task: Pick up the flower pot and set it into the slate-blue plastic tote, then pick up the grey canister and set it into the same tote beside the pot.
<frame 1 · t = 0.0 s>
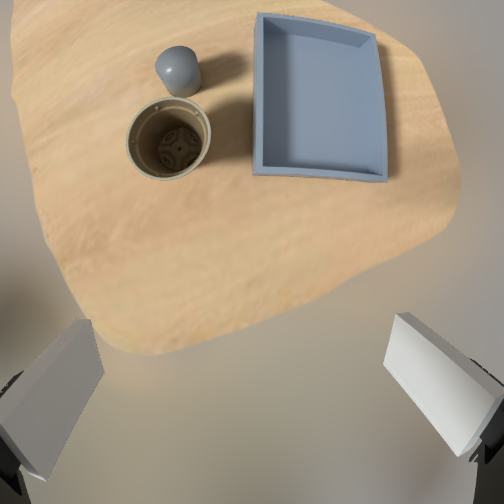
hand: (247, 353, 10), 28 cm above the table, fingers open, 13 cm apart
tote: (314, 99, 34), on the table
canister: (184, 82, 32), on the table
flower pot: (180, 148, 35), on the table
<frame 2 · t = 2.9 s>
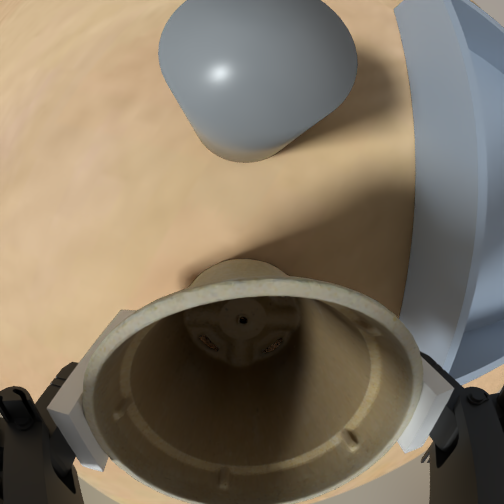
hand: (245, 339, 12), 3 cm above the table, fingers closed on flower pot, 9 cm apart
tote: (494, 188, 14), on the table
canister: (244, 112, 12), on the table
flower pot: (242, 312, 14), on the table, touching gripper
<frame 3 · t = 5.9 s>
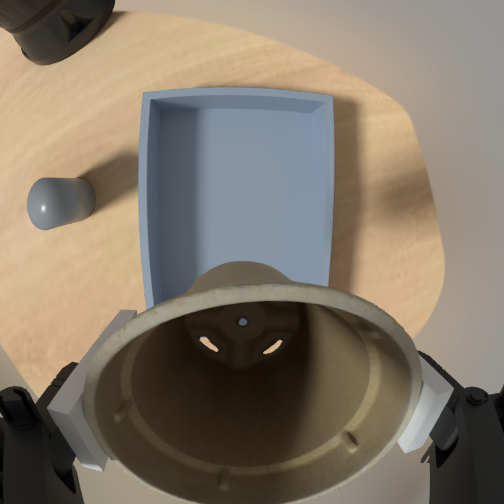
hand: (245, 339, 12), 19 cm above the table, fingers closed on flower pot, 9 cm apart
tote: (235, 211, 29), on the table
canister: (77, 199, 27), on the table
flower pot: (242, 313, 14), point 16 cm above the table, touching gripper
when the fingers open (4 cm above the table, at t = 9.0 s): flower pot stays where it is, resting on tote.
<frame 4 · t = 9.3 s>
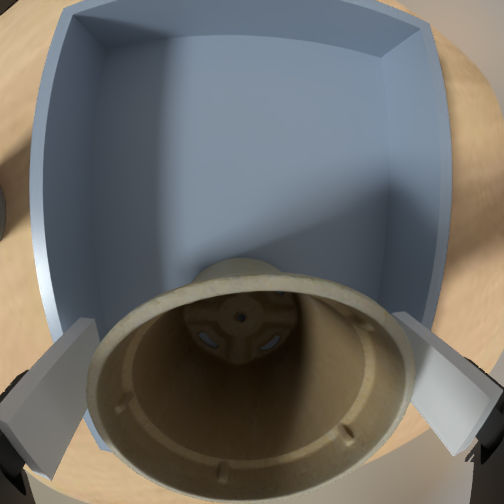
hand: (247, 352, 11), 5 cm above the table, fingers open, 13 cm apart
tote: (242, 234, 14), on the table
flower pot: (241, 310, 15), resting on tote
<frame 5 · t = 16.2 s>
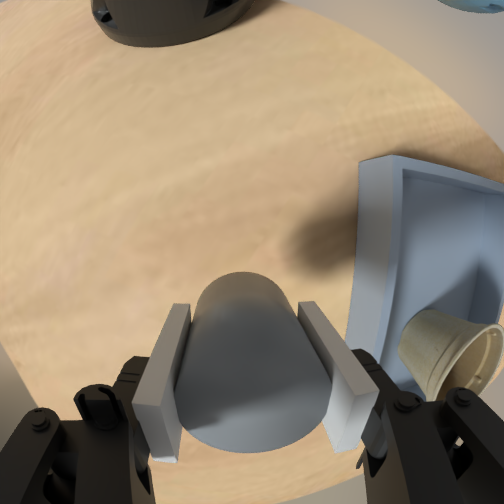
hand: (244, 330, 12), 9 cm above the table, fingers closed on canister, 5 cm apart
tote: (425, 296, 23), on the table
canister: (242, 317, 14), point 7 cm above the table, touching gripper
flower pot: (419, 334, 23), resting on tote
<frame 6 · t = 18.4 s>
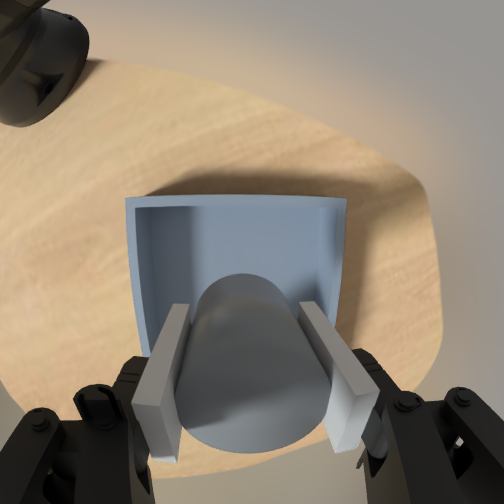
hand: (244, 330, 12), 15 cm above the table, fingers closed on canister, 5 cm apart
tote: (235, 312, 28), on the table
canister: (242, 318, 14), point 13 cm above the table, touching gripper
when the fingers open (2 cm above the table, at t = 20.8 s): canister stays where it is, resting on tote.
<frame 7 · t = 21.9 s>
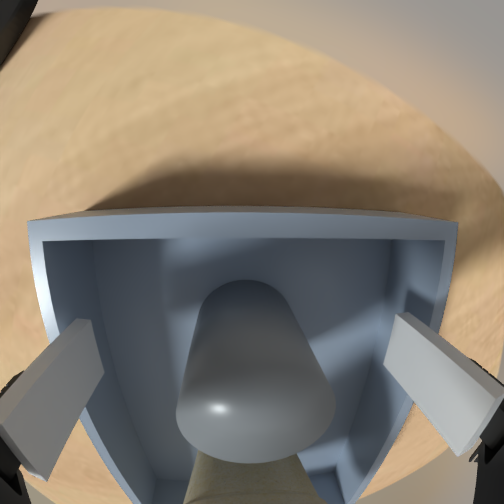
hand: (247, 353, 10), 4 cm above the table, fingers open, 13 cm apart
tote: (244, 397, 16), on the table
canister: (245, 325, 14), point 1 cm above the table, touching tote
flower pot: (244, 438, 16), resting on tote
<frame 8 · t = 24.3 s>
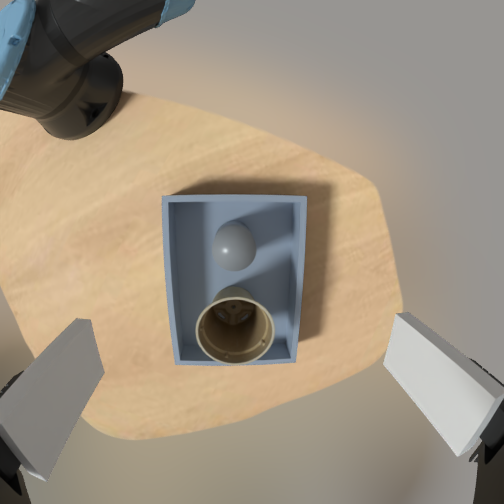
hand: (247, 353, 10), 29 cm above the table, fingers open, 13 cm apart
tote: (233, 277, 40), on the table
canister: (233, 238, 38), point 1 cm above the table, touching tote
flower pot: (233, 304, 40), resting on tote
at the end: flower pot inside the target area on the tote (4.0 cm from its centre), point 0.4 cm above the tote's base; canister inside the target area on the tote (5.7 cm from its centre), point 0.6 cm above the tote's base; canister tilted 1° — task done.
